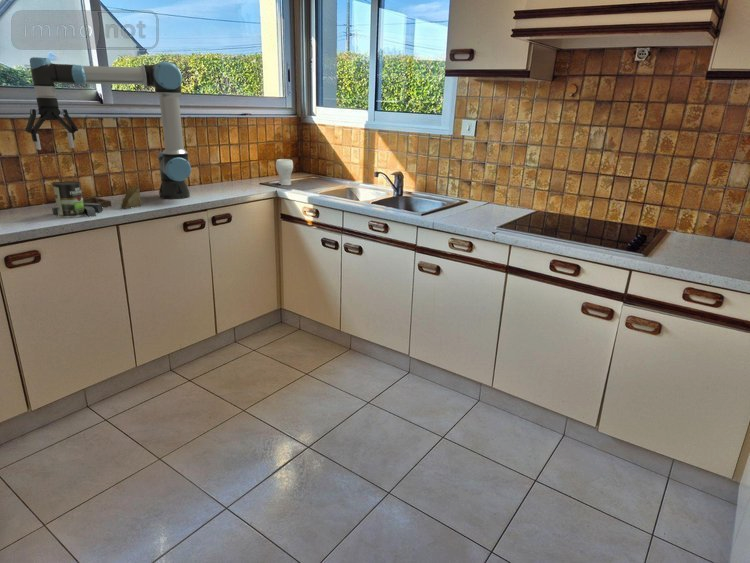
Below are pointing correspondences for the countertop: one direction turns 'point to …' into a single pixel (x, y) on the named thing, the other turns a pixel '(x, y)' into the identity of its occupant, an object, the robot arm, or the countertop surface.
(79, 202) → the coffee can
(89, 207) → the dark grey branched bar
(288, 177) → the cup
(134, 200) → the rock
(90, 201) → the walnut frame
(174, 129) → the robot arm
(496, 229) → the countertop surface
